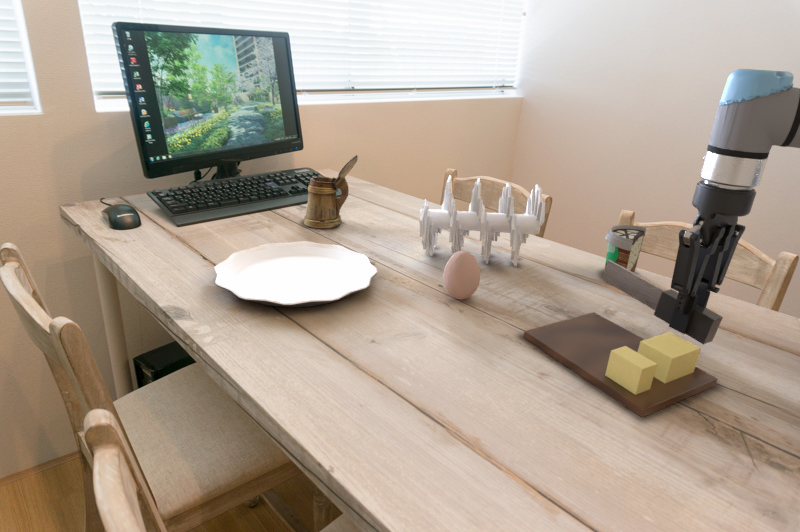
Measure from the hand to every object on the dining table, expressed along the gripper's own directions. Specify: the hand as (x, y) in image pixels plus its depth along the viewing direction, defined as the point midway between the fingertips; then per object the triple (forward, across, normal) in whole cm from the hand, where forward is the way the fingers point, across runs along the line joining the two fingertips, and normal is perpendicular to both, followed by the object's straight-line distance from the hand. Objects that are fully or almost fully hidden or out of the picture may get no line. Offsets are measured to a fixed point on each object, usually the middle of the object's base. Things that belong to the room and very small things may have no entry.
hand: (683, 327), depth 85 cm
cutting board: (+3, +15, -1) cm, 15 cm away
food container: (+3, -13, -24) cm, 27 cm away
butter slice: (+1, +20, +5) cm, 20 cm away
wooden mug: (+3, +29, -76) cm, 81 cm away
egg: (+3, +24, -28) cm, 37 cm away
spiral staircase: (+3, +9, -43) cm, 44 cm away
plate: (+3, +48, -47) cm, 67 cm away
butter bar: (+1, +12, +5) cm, 13 cm away
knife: (0, 0, -6) cm, 6 cm away
